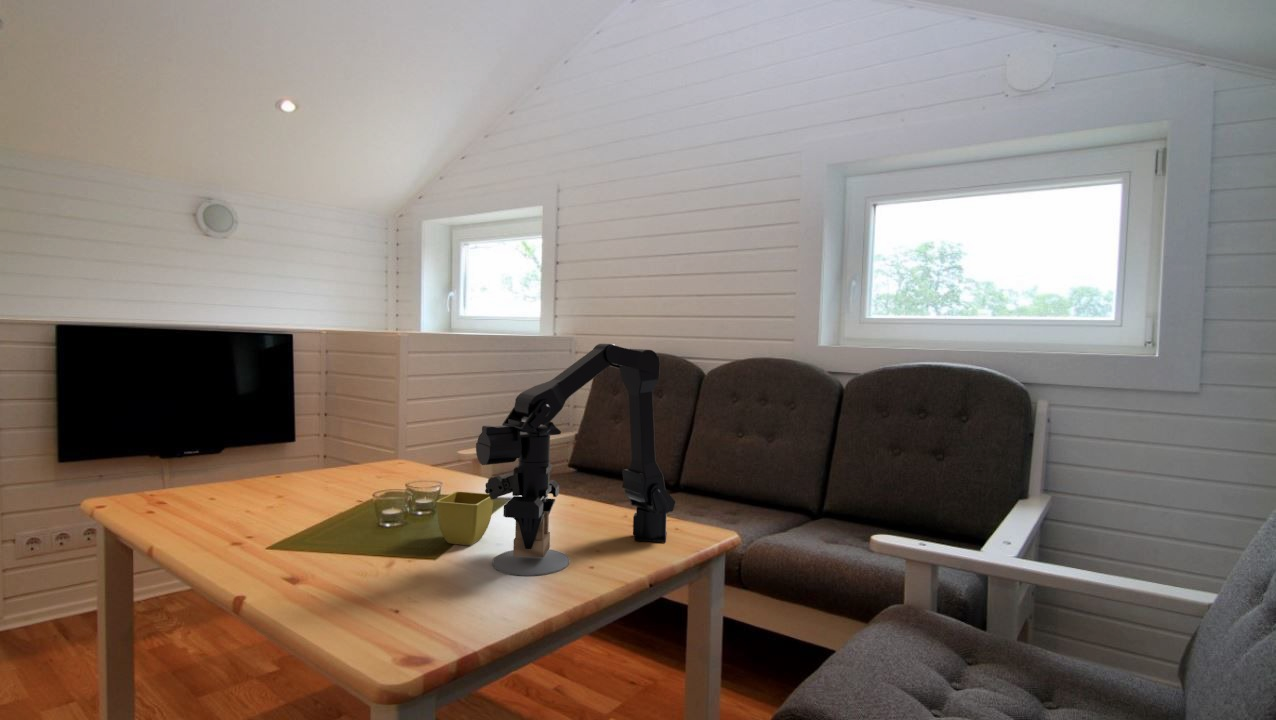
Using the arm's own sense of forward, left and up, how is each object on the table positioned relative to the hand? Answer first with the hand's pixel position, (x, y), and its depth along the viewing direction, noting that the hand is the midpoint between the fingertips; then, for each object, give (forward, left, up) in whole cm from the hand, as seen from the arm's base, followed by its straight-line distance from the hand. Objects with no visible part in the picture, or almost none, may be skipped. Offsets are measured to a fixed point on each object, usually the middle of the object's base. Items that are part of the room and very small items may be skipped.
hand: (532, 543), depth 123 cm
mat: (0, 0, -3) cm, 3 cm away
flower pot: (+16, -10, -4) cm, 19 cm away
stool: (0, 0, -2) cm, 2 cm away
